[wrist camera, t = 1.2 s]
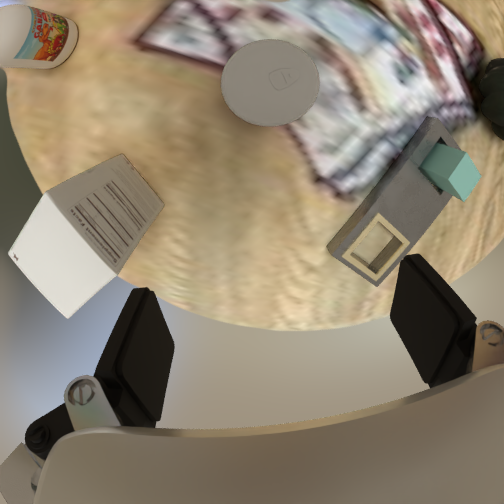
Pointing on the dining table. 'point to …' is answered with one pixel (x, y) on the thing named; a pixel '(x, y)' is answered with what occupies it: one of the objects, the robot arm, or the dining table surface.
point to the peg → (450, 170)
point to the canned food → (270, 83)
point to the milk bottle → (34, 37)
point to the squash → (494, 95)
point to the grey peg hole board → (396, 207)
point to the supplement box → (85, 232)
